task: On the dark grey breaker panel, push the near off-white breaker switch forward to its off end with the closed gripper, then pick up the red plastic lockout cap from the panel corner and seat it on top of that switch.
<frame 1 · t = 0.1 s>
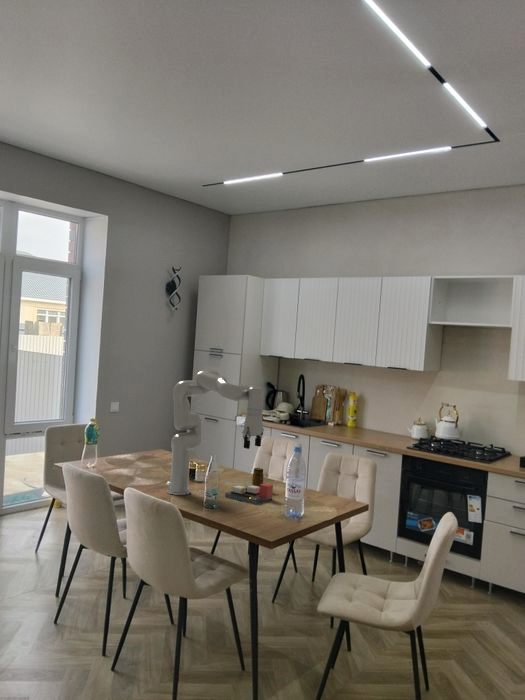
hand: (252, 447, 275), 31 cm above the table, tool pointing down, fingers open, 9 cm apart
breaker b: (253, 489, 301), point 4 cm above the table, slide at 5.0 cm
lockout cap: (265, 496, 297), point 2 cm above the table, touching panel
breaker a: (239, 489, 299), point 4 cm above the table, slide at 0.0 cm
condiment: (257, 490, 316), on the table
panel: (248, 498, 298), on the table
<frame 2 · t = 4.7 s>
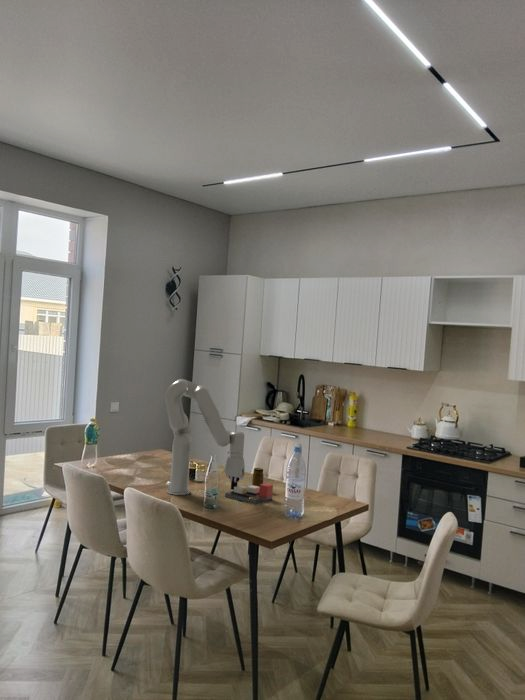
hand: (233, 489, 301), 3 cm above the table, tool pointing down, fingers closed
breaker a: (240, 490, 299), point 4 cm above the table, slide at 0.7 cm, touching gripper
everything else where it was.
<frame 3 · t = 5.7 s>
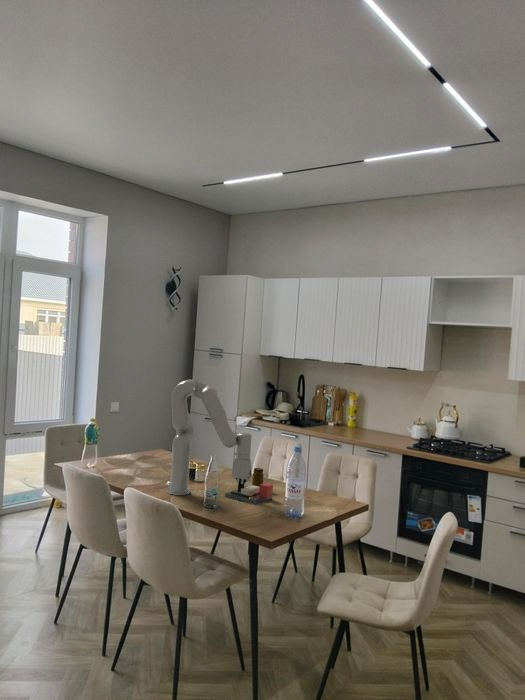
hand: (240, 490, 299), 3 cm above the table, tool pointing down, fingers closed
breaker a: (247, 491, 296), point 4 cm above the table, slide at 5.3 cm, touching gripper
everything else where it was.
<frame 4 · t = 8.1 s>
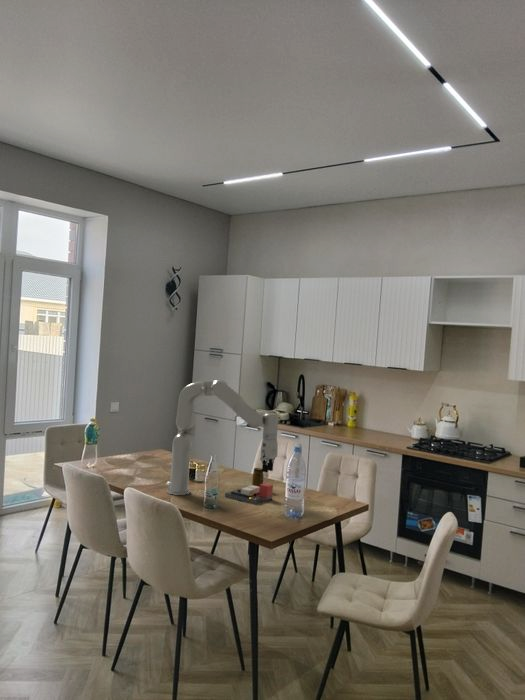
hand: (267, 470, 297), 15 cm above the table, tool pointing down, fingers open, 4 cm apart
breaker a: (247, 491, 296), point 4 cm above the table, slide at 5.4 cm
everything else where it was.
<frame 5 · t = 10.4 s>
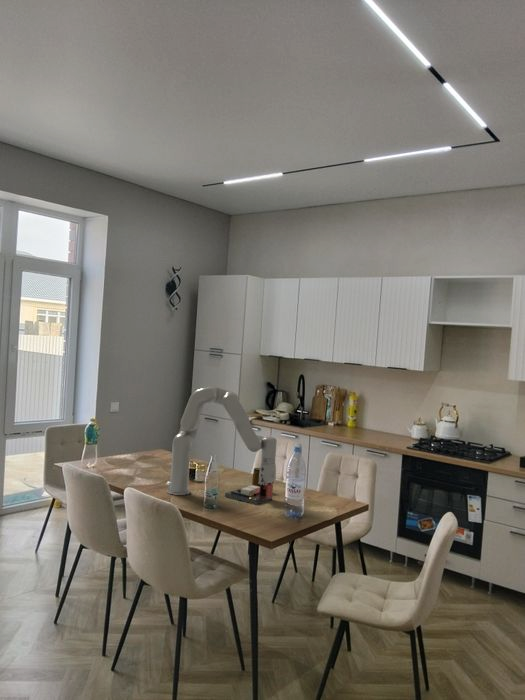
hand: (265, 494, 297), 3 cm above the table, tool pointing down, fingers closed on lockout cap, 5 cm apart
lockout cap: (265, 496, 297), point 2 cm above the table, touching gripper, panel
everything else where it was.
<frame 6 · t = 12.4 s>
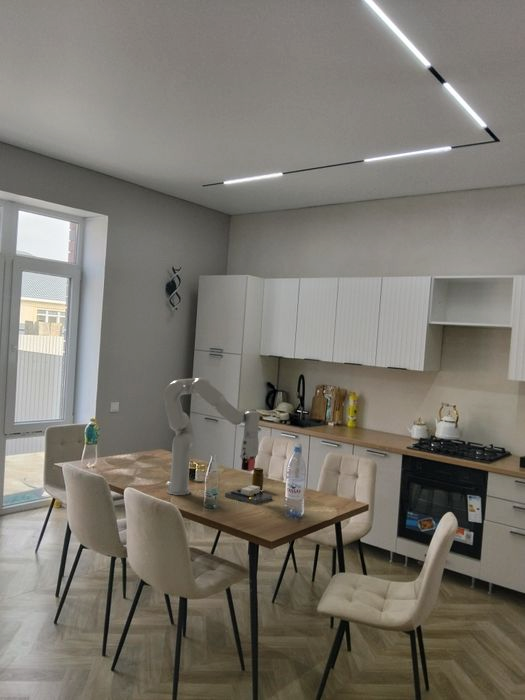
hand: (247, 468, 297), 16 cm above the table, tool pointing down, fingers closed on lockout cap, 5 cm apart
lockout cap: (247, 469, 297), point 15 cm above the table, touching gripper
everything else where it was.
when the fingers open (7 cm above the table, at t = 14.6 s): lockout cap stays where it is, resting on breaker a.
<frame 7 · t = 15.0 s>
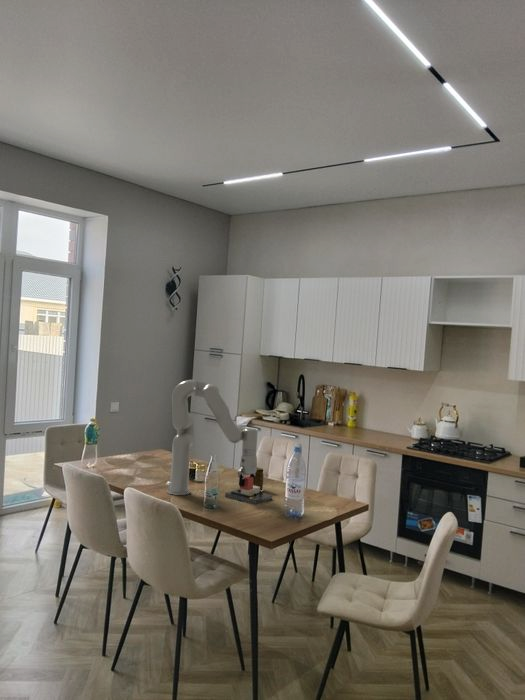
hand: (246, 484, 297), 7 cm above the table, tool pointing down, fingers open, 8 cm apart
lockout cap: (246, 488, 297), point 5 cm above the table, touching breaker a
breaker a: (247, 491, 296), point 4 cm above the table, slide at 5.4 cm, touching lockout cap
everything else where it was.
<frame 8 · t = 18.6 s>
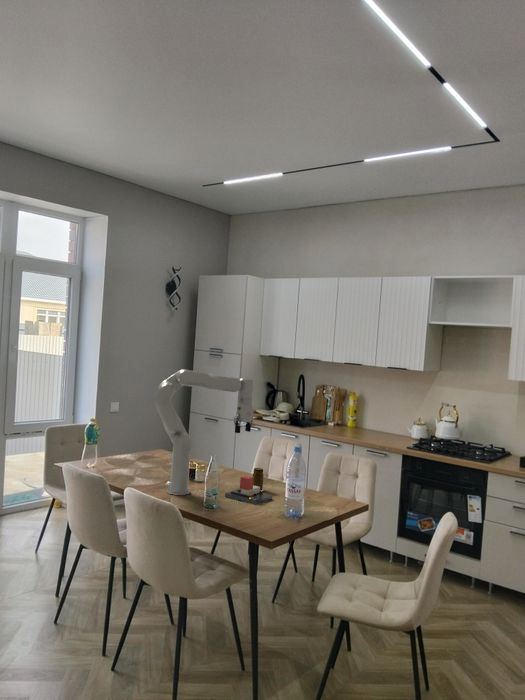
hand: (242, 432, 307), 33 cm above the table, tool pointing down, fingers open, 9 cm apart
nothing on the table moved.
at the end: breaker a slide at 5.4 cm; lockout cap 0.3 cm from the target spot, point 5.3 cm above the table; lockout cap tilted 0° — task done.
